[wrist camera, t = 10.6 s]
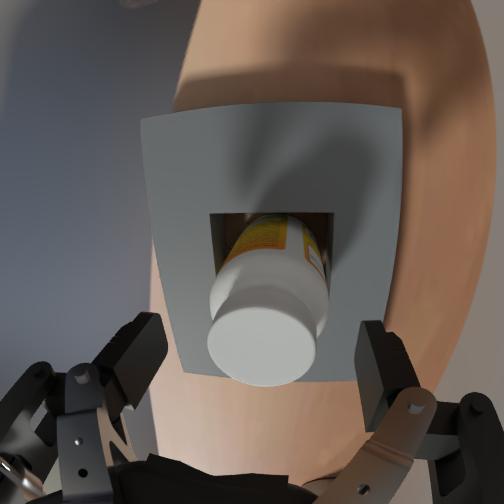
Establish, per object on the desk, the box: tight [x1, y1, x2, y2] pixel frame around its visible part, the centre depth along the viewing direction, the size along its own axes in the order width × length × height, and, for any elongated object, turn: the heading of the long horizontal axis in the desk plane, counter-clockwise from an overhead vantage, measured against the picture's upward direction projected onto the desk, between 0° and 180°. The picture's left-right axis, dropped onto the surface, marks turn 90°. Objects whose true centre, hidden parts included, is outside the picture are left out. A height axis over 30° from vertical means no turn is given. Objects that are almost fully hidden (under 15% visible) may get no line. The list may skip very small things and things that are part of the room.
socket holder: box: [140, 102, 403, 382], centre depth 17 cm, size 18×14×3 cm
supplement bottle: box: [207, 214, 329, 387], centre depth 14 cm, size 5×5×10 cm
